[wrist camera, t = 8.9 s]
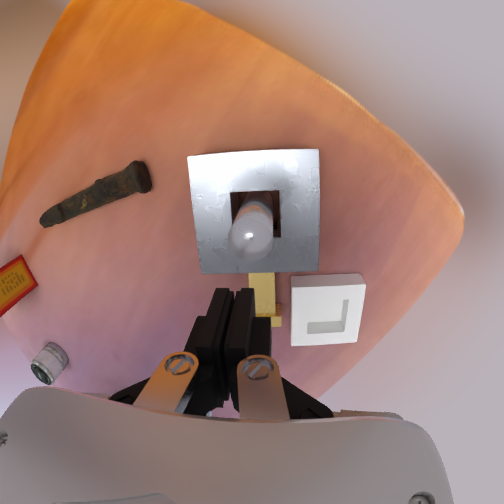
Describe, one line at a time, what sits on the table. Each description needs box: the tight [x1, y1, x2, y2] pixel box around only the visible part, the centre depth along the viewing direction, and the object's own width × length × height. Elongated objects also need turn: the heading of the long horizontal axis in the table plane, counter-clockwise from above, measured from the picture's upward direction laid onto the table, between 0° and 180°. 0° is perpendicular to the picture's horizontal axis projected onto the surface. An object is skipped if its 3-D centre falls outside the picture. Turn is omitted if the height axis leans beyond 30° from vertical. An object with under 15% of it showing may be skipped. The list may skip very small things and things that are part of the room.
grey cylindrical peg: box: [228, 190, 273, 261], centre depth 26 cm, size 3×3×13 cm
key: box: [248, 272, 281, 327], centre depth 34 cm, size 13×4×3 cm, turn 4°
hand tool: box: [39, 161, 151, 228], centre depth 31 cm, size 19×4×5 cm, turn 103°
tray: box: [290, 273, 366, 346], centre depth 35 cm, size 9×9×3 cm
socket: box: [187, 148, 320, 274], centre depth 29 cm, size 12×12×6 cm
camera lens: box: [31, 343, 68, 385], centre depth 43 cm, size 6×6×8 cm
